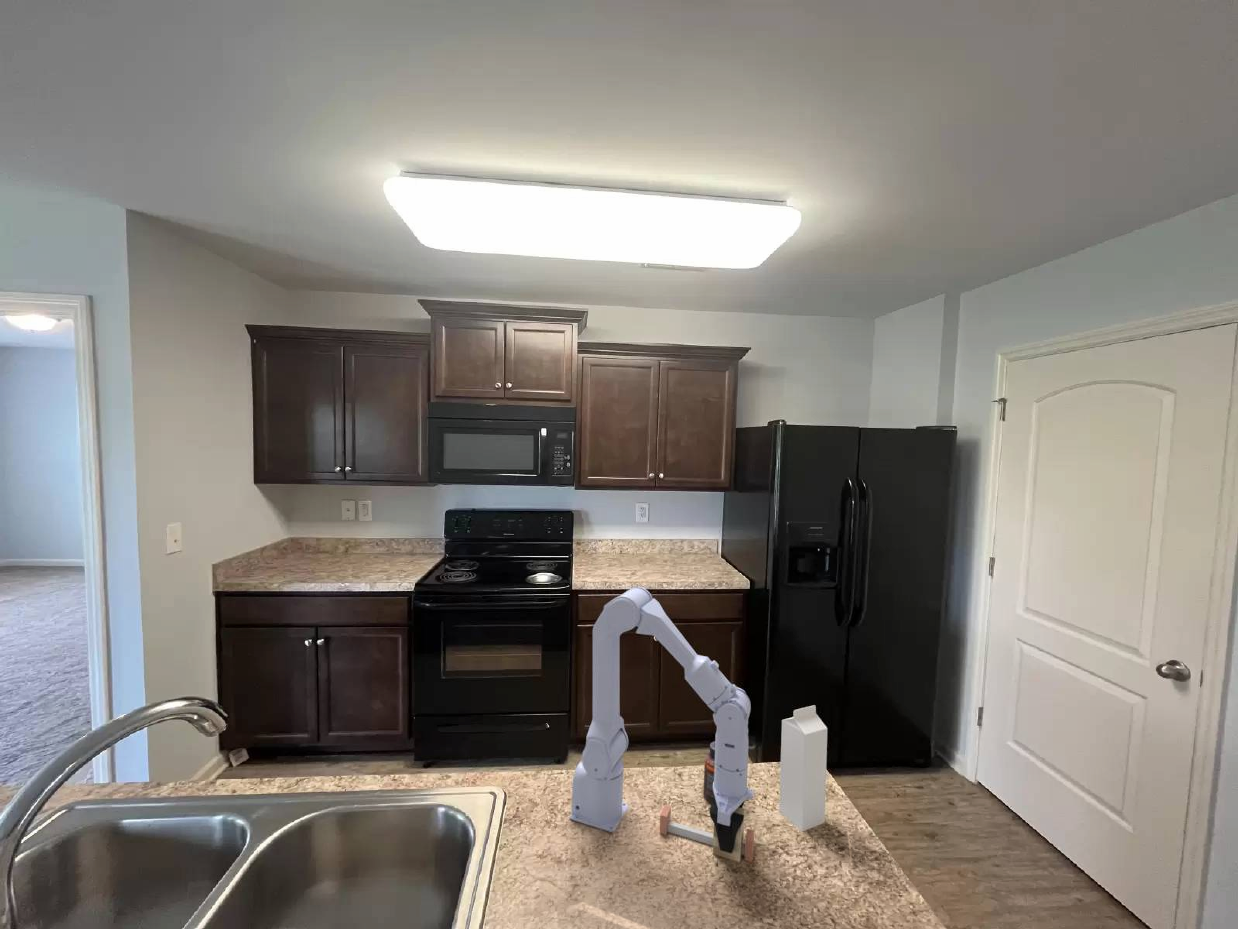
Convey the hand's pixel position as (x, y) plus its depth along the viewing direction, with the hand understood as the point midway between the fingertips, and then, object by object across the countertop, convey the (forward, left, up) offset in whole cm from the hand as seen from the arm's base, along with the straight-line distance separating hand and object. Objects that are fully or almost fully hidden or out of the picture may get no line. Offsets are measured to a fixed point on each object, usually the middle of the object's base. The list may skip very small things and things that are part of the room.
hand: (728, 839), depth 87 cm
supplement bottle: (-4, +13, -3) cm, 14 cm away
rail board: (-4, 0, -2) cm, 5 cm away
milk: (+12, +14, -3) cm, 19 cm away
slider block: (0, 0, -2) cm, 2 cm away
